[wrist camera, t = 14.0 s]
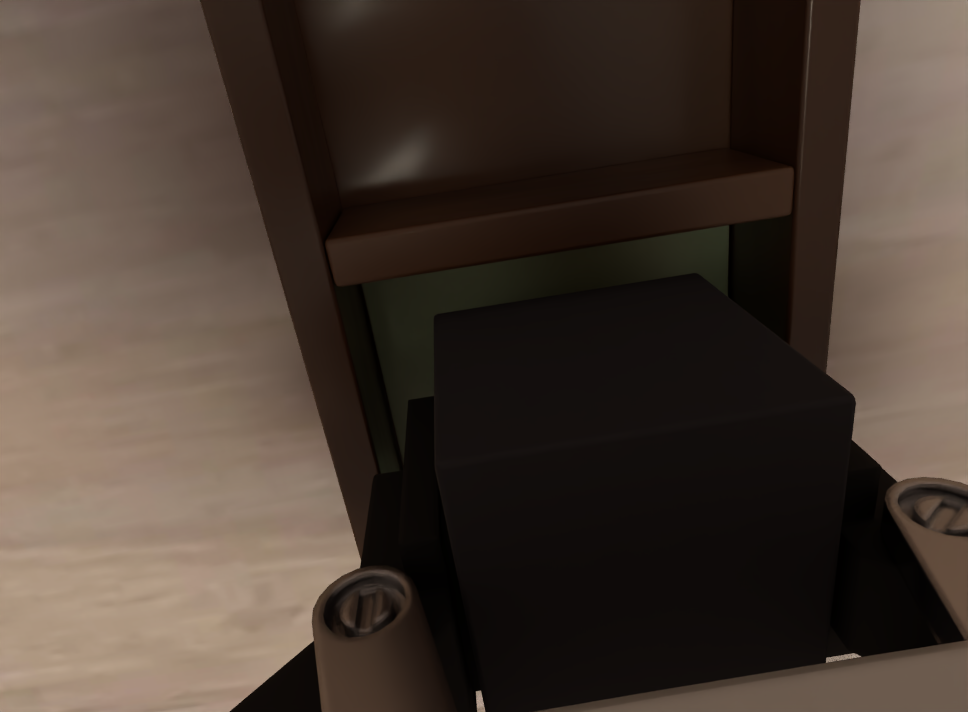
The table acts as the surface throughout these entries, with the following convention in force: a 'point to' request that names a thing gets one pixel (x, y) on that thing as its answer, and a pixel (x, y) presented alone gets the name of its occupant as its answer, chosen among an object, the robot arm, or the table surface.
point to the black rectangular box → (636, 491)
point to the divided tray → (529, 171)
